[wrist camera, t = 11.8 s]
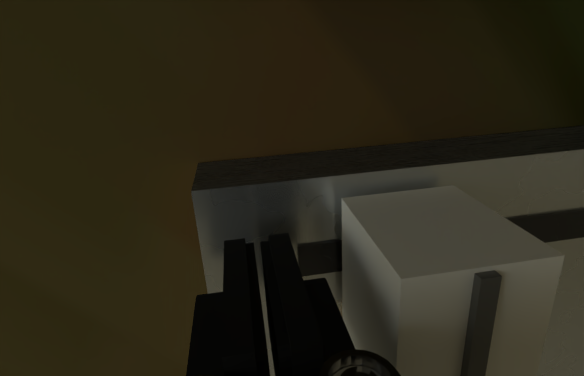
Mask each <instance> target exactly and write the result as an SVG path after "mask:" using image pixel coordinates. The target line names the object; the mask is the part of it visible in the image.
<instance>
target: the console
mask: <svg viewBox="0 0 584 376" xmlns="http://www.w3.org/2000/svg"><path fill="white" fill-rule="evenodd" d="M451 185H454V186H455V187H457V188H458V189H460V190H462V191H463V192H465V193H466V194H468V195H469V196H471V197H473V198H474V199H476V200H477V201H479V202H481V203H482V204H484V205H485V206H487V207H489V208H490V209H492V210H493V211H495V212H497V213H498V214H500V215H501V216H503V217H504V218H506V219H508V220H509V221H511V222H512V223H514V224H516V225H517V226H519V227H520V228H522V229H524V230H525V231H527V232H528V233H530V234H532V235H533V236H535V237H536V238H538V239H539V240H541V241H543V242H544V243H546V244H547V245H549V246H551V247H552V248H554V249H555V250H557V251H559V252H560V253H562V254H563V255H565V257H564V261H563V265H562V269H561V274H560V278H559V282H558V286H557V291H556V295H555V299H554V304H553V308H552V312H551V316H550V321H549V325H548V329H547V333H546V338H545V342H544V346H543V350H542V355H541V359H540V363H539V367H538V372H537V376H584V126H573V127H563V128H553V129H543V130H533V131H522V132H512V133H502V134H492V135H482V136H471V137H461V138H451V139H441V140H431V141H420V142H410V143H400V144H390V145H379V146H369V147H359V148H349V149H339V150H328V151H318V152H308V153H298V154H288V155H277V156H267V157H257V158H247V159H237V160H226V161H216V162H206V163H198V166H197V170H196V174H195V178H194V182H193V186H192V190H191V192H192V199H193V205H194V211H195V217H196V223H197V229H198V236H199V242H200V248H201V254H202V260H203V266H204V272H205V279H206V285H207V291H208V294H209V293H216V292H223V266H224V241H226V240H234V239H242V238H245V242H246V243H254V249H255V256H256V264H257V272H258V280H259V288H260V295H261V303H262V311H263V319H264V326H265V334H266V342H267V351H268V360H269V370H270V376H275V372H274V365H273V358H272V350H271V343H270V336H269V328H268V318H267V307H266V297H265V287H264V276H263V266H262V256H261V245H260V242H262V241H268V235H274V234H283V233H288V234H289V237H290V240H291V243H292V246H293V249H294V252H295V255H296V259H297V262H298V265H299V268H300V271H301V274H302V277H303V280H310V279H317V278H326V280H327V282H328V284H329V287H330V289H331V292H332V294H333V296H334V299H335V301H336V304H337V306H338V308H339V311H340V313H341V316H342V318H343V306H342V198H346V197H355V196H364V195H372V194H381V193H390V192H399V191H407V190H416V189H425V188H434V187H442V186H451Z"/></svg>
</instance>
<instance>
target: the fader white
mask: <svg viewBox="0 0 584 376" xmlns="http://www.w3.org/2000/svg"><path fill="white" fill-rule="evenodd" d="M564 257H565V255H563V254H562V253H560V252H559V251H557V250H555V249H554V248H552V247H551V246H549V245H547V244H546V243H544V242H543V241H541V240H539V239H538V238H536V237H535V236H533V235H532V234H530V233H528V232H527V231H525V230H524V229H522V228H520V227H519V226H517V225H516V224H514V223H512V222H511V221H509V220H508V219H506V218H504V217H503V216H501V215H500V214H498V213H497V212H495V211H493V210H492V209H490V208H489V207H487V206H485V205H484V204H482V203H481V202H479V201H477V200H476V199H474V198H473V197H471V196H469V195H468V194H466V193H465V192H463V191H462V190H460V189H458V188H457V187H455V186H454V185H451V186H442V187H434V188H425V189H416V190H407V191H399V192H390V193H381V194H372V195H364V196H355V197H346V198H342V306H343V320H344V323H345V325H346V328H347V330H348V332H349V335H350V337H351V340H352V342H353V344H354V347H355V349H358V350H367V351H370V352H373V353H376V354H378V355H380V356H382V357H383V358H385V359H387V360H388V361H389V362H390V363H391V364H392V365H393V366H394V367H395V368H396V369H397V371H398V372H399V374H400V375H401V376H537V372H538V367H539V363H540V359H541V355H542V350H543V346H544V342H545V338H546V333H547V329H548V325H549V321H550V316H551V312H552V308H553V304H554V299H555V295H556V291H557V286H558V282H559V278H560V274H561V269H562V265H563V261H564Z"/></svg>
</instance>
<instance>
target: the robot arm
mask: <svg viewBox="0 0 584 376" xmlns="http://www.w3.org/2000/svg"><path fill="white" fill-rule="evenodd" d="M260 245H261V256H262V266H263V276H264V287H265V297H266V307H267V318H268V328H269V336H270V343H271V350H272V358H273V365H274V372H275V376H401V375H400V374H399V372H398V371H397V369H396V368H395V367H394V366H393V365H392V364H391V363H390V362H389V361H388V360H387V359H385V358H383V357H382V356H380V355H378V354H376V353H373V352H370V351H367V350H358V349H355V347H354V344H353V342H352V340H351V337H350V335H349V332H348V330H347V328H346V325H345V323H344V320H343V318H342V316H341V313H340V311H339V308H338V306H337V304H336V301H335V299H334V296H333V294H332V292H331V289H330V287H329V284H328V282H327V280H326V278H317V279H310V280H303V277H302V274H301V271H300V268H299V265H298V262H297V259H296V255H295V252H294V249H293V246H292V243H291V240H290V237H289V234H288V233H283V234H274V235H268V241H262V242H260ZM186 376H270V370H269V360H268V351H267V342H266V334H265V326H264V319H263V311H262V303H261V295H260V288H259V280H258V272H257V264H256V256H255V249H254V243H246V242H245V238H242V239H234V240H226V241H224V266H223V292H216V293H209V294H202V295H197V297H196V302H195V310H194V318H193V326H192V334H191V342H190V349H189V357H188V365H187V373H186Z"/></svg>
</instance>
